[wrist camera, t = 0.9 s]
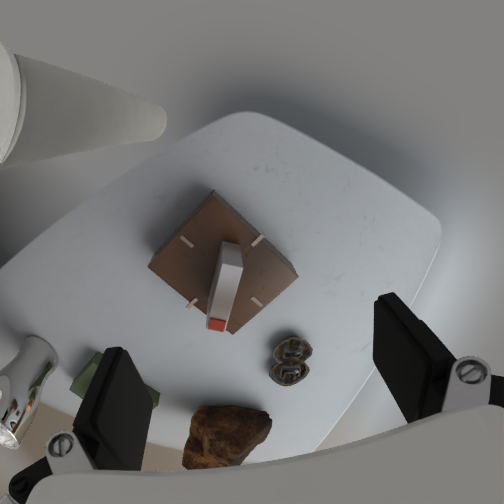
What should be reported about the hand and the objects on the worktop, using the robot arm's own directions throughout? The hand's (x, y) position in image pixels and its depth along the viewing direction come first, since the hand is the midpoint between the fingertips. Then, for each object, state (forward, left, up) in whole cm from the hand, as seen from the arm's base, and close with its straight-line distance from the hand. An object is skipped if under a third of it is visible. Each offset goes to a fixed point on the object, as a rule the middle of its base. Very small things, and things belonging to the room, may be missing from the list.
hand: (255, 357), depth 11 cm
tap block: (+3, -4, -21) cm, 21 cm away
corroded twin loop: (+17, -8, -21) cm, 28 cm away
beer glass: (-6, -32, -21) cm, 39 cm away
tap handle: (+3, -4, -18) cm, 18 cm away
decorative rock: (+19, -21, -21) cm, 35 cm away
